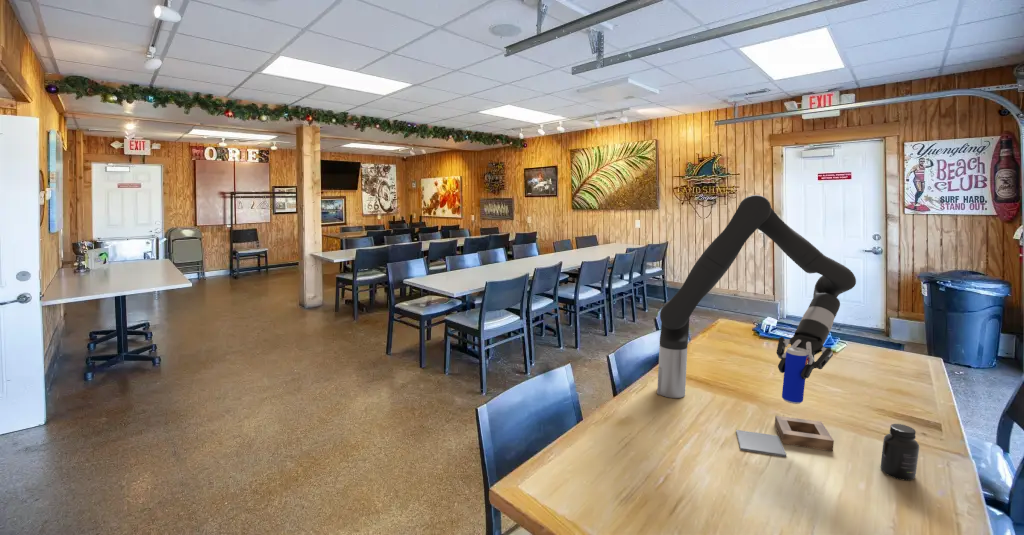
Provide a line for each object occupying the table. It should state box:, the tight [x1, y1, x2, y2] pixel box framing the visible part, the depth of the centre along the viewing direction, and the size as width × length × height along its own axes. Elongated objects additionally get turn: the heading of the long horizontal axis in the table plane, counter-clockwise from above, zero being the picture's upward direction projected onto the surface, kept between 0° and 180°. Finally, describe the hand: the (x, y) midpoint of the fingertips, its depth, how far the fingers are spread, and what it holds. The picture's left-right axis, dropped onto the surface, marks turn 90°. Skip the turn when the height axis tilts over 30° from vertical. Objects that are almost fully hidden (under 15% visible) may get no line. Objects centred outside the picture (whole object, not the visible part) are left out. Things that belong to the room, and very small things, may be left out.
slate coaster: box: [735, 429, 787, 458], centre depth 133 cm, size 11×11×1 cm
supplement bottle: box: [880, 423, 920, 481], centre depth 117 cm, size 7×7×12 cm
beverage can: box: [781, 346, 808, 405], centre depth 133 cm, size 5×5×15 cm
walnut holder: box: [774, 415, 835, 452], centre depth 136 cm, size 12×12×3 cm
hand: (791, 374), depth 132 cm, fingers closed on beverage can, 5 cm apart
